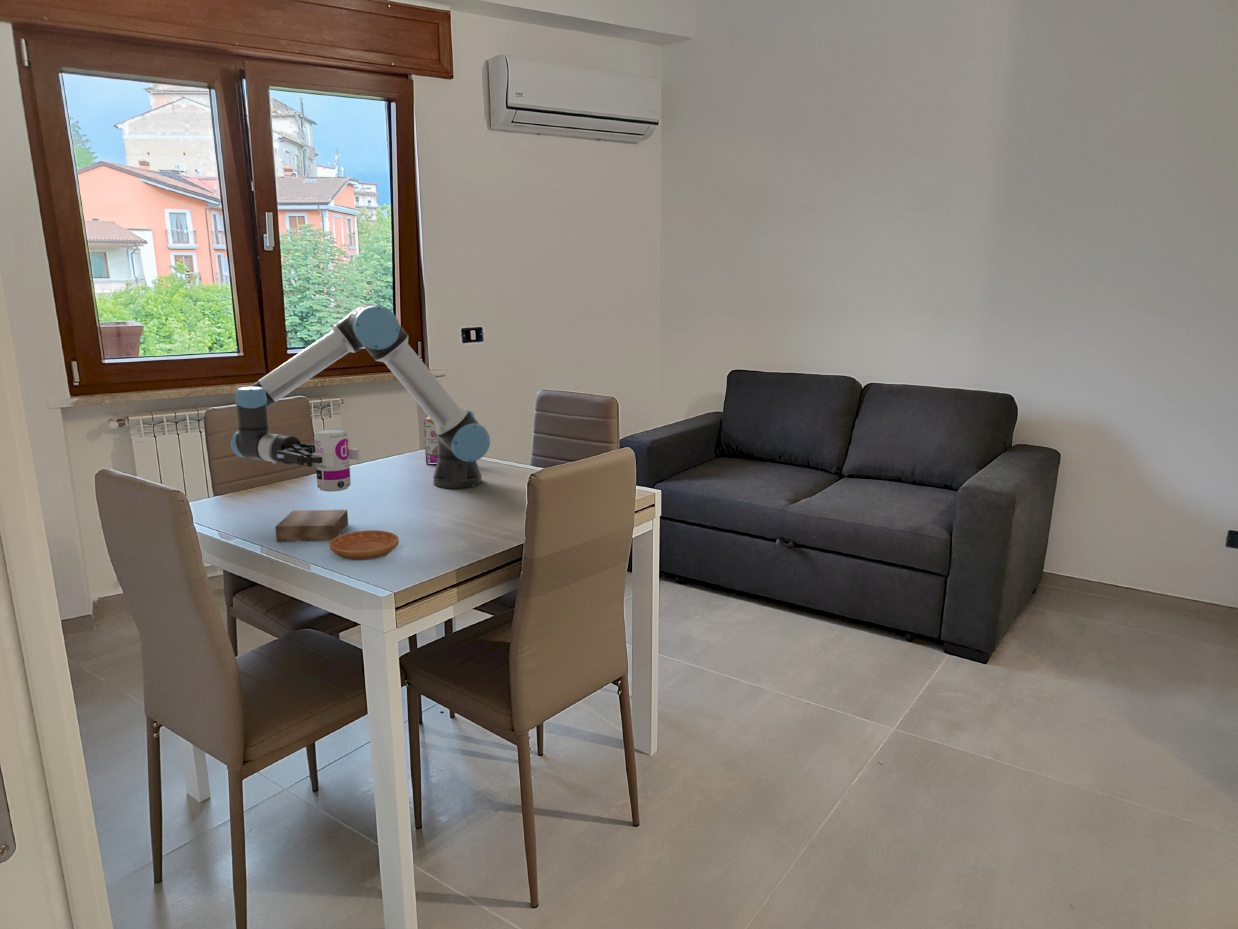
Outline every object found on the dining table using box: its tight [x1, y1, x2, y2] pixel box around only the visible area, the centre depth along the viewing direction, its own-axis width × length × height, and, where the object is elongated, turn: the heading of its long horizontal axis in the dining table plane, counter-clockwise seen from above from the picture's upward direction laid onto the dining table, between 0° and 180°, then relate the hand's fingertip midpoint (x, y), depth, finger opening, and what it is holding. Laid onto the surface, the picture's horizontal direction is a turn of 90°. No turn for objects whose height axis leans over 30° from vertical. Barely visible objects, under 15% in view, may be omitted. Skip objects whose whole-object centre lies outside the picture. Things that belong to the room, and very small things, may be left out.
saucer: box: [328, 529, 400, 561], centre depth 196 cm, size 16×16×3 cm
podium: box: [274, 509, 349, 543], centre depth 209 cm, size 14×14×4 cm
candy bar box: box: [423, 416, 438, 464], centre depth 287 cm, size 11×5×16 cm, turn 84°
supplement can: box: [313, 428, 352, 492], centre depth 211 cm, size 8×8×15 cm
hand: (346, 458), depth 208 cm, fingers closed on supplement can, 8 cm apart
